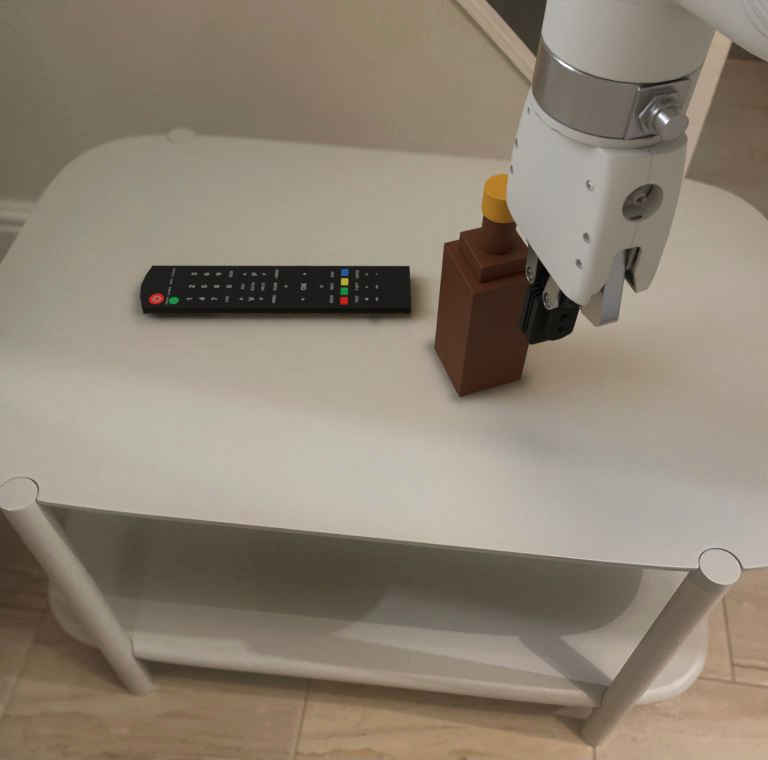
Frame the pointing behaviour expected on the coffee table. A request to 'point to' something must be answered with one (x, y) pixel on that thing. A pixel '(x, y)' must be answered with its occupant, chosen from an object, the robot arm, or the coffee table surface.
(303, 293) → the remote control
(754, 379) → the coffee table surface
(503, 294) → the bottle
